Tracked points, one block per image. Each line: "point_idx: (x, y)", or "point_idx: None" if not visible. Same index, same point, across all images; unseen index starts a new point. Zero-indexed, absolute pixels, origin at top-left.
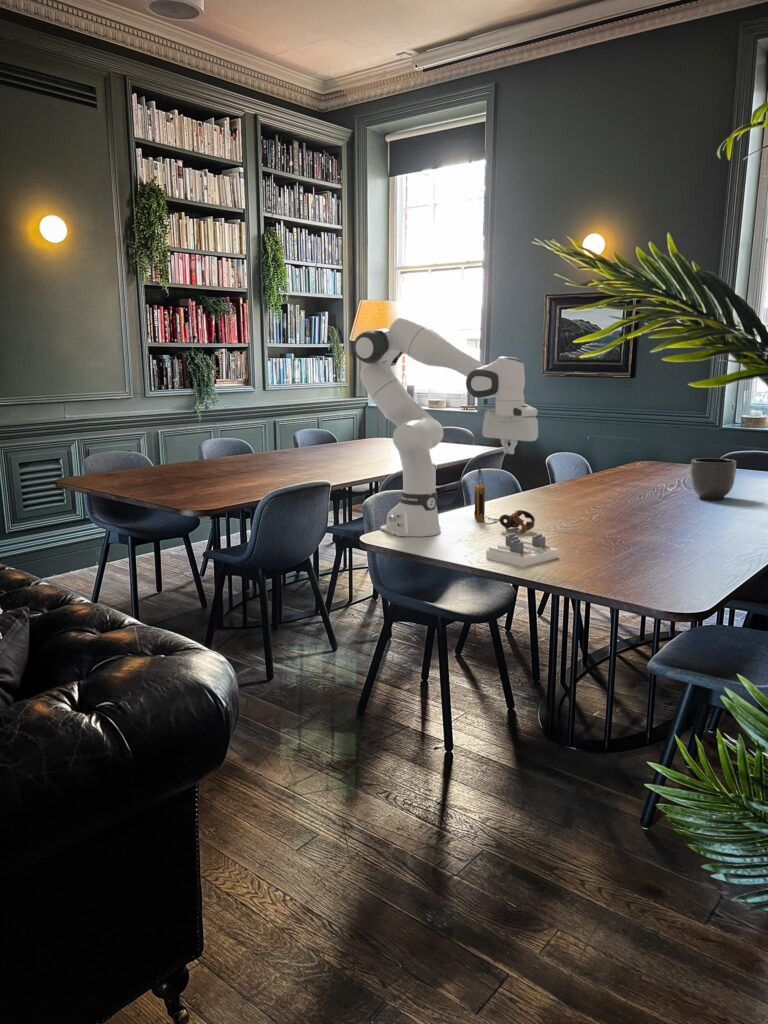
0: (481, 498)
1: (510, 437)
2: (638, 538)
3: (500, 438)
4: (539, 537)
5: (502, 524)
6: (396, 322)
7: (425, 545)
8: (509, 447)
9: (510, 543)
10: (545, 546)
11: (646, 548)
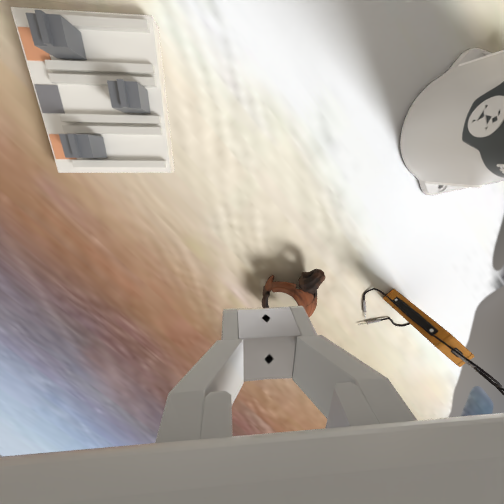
0: (419, 321)
1: (158, 486)
2: (114, 376)
3: (420, 420)
4: (66, 138)
5: (313, 270)
6: None
7: (363, 24)
8: (236, 346)
9: (61, 17)
10: (83, 160)
11: (48, 338)
